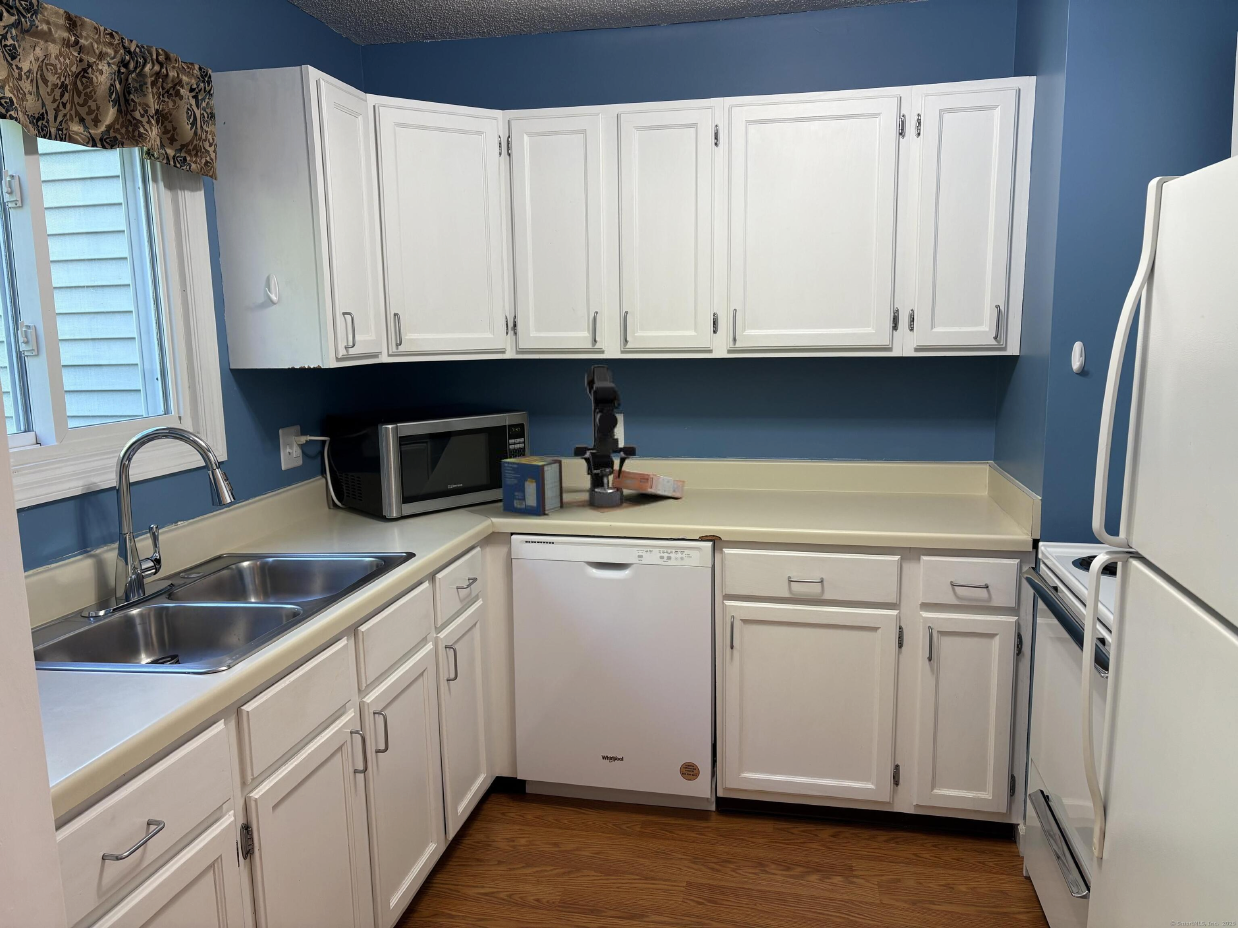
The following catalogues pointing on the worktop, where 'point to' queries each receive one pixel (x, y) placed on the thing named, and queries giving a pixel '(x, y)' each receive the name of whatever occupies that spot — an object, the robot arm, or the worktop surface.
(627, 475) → the cracker box
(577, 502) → the board
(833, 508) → the worktop surface
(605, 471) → the plunger
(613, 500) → the gray faceted ring
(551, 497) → the protein box
